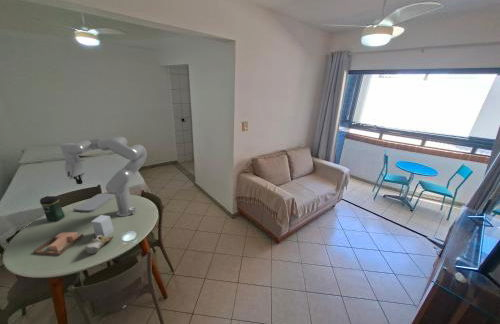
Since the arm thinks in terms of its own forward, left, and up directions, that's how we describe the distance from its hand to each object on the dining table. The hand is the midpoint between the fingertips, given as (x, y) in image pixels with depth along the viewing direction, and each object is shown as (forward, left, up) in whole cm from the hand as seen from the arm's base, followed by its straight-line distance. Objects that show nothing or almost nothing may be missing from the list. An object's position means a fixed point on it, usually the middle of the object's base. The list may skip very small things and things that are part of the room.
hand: (79, 183), depth 141 cm
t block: (-9, +29, -27) cm, 41 cm away
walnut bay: (-8, +30, -27) cm, 41 cm away
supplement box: (-29, +19, -27) cm, 44 cm away
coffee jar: (+20, +7, -27) cm, 35 cm away
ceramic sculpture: (-34, +31, -28) cm, 53 cm away
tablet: (+8, -16, -28) cm, 33 cm away
